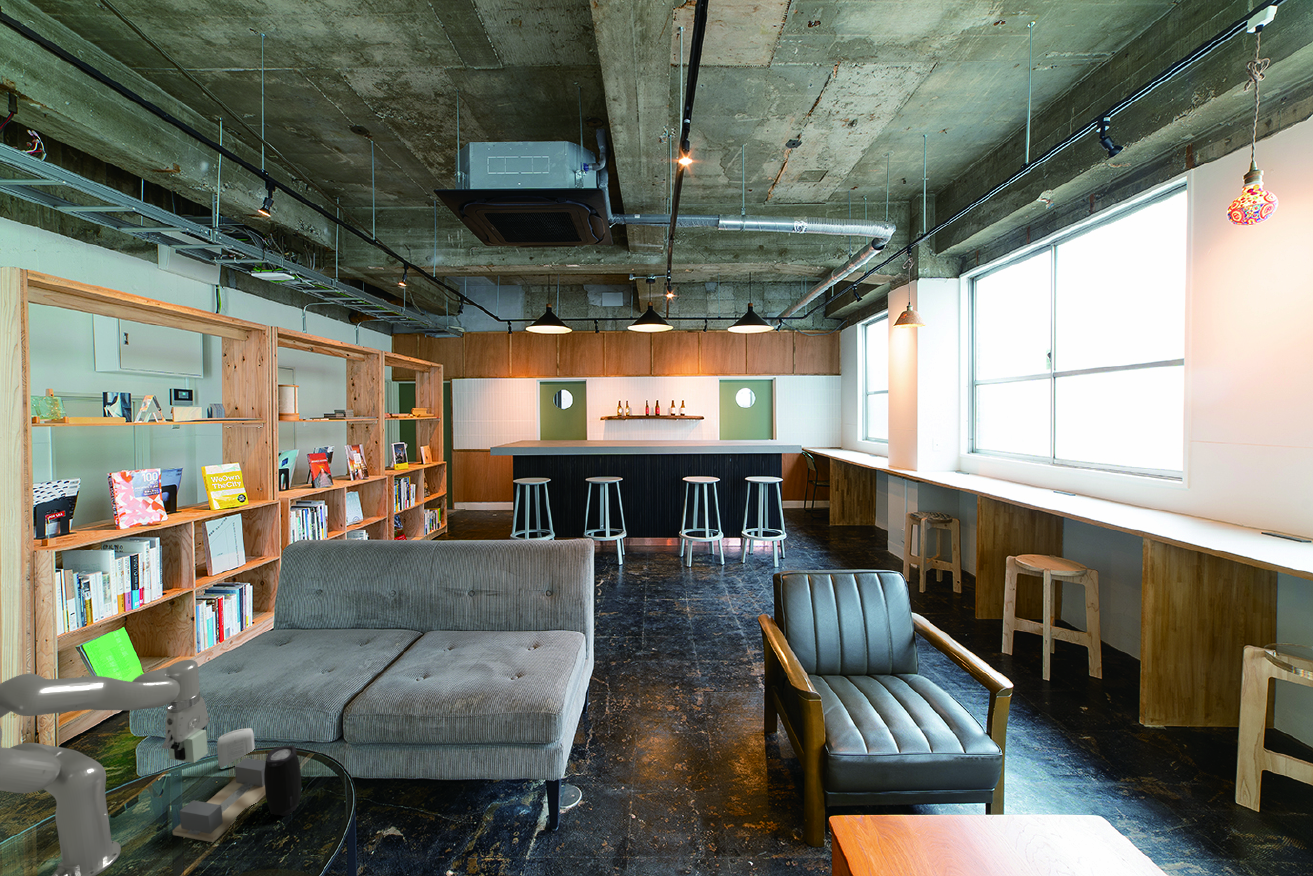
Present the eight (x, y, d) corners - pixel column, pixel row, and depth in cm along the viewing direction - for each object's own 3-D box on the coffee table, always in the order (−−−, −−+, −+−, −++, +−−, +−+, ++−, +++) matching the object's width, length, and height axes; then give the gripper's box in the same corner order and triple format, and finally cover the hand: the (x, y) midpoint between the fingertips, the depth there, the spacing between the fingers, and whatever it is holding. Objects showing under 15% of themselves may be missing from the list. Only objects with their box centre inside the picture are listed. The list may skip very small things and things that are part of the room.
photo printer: (256, 754, 194) (253, 722, 193) (255, 761, 191) (252, 729, 189) (219, 765, 189) (216, 733, 187) (218, 773, 185) (214, 740, 183)
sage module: (193, 763, 169) (192, 739, 168) (169, 759, 171) (167, 735, 170) (207, 753, 174) (206, 730, 173) (183, 749, 175) (182, 726, 174)
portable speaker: (267, 805, 173) (262, 750, 170) (301, 792, 178) (297, 739, 175) (267, 824, 166) (262, 767, 163) (303, 810, 171) (299, 754, 168)
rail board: (213, 842, 159) (211, 820, 158) (172, 834, 161) (170, 812, 160) (280, 780, 183) (279, 760, 182) (244, 774, 185) (243, 754, 184)
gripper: (166, 719, 161) (171, 774, 163) (220, 686, 178) (223, 737, 180) (145, 715, 162) (150, 771, 164) (200, 684, 179) (204, 734, 181)
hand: (188, 753), depth 172 cm, fingers closed on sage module, 4 cm apart
